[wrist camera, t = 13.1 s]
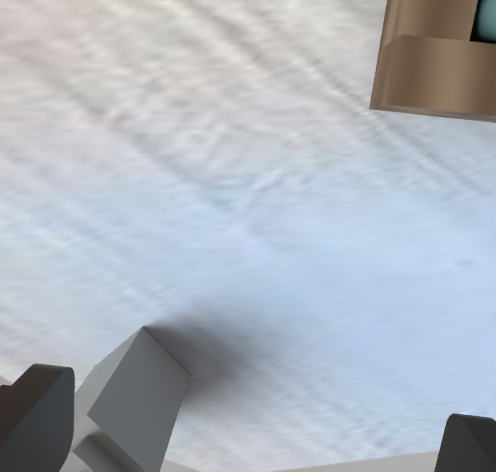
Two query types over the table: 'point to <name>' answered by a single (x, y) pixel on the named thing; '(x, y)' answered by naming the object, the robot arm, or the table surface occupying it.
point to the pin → (484, 22)
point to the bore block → (434, 62)
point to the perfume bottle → (127, 409)
